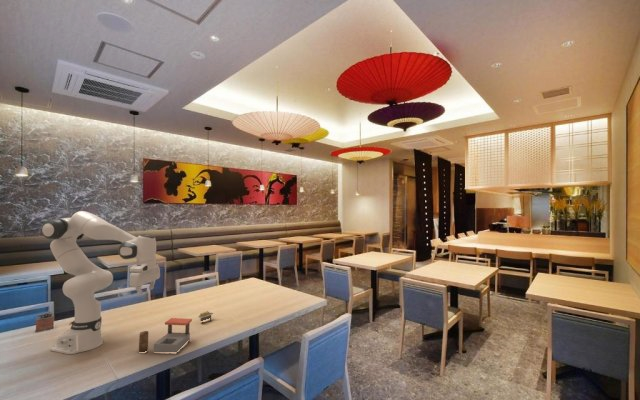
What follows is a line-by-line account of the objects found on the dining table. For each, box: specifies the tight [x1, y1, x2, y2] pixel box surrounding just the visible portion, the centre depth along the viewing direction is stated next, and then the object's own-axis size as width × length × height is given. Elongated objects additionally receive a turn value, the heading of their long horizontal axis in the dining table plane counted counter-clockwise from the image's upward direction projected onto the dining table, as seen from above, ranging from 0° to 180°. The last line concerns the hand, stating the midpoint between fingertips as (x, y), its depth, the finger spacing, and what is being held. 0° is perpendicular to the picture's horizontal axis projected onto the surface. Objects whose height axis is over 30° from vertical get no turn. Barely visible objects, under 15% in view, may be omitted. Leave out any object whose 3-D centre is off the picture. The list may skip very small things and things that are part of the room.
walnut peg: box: [138, 330, 149, 353], centre depth 149 cm, size 4×4×10 cm
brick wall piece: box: [35, 312, 55, 333], centre depth 173 cm, size 8×3×10 cm, turn 135°
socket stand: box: [152, 317, 193, 352], centre depth 156 cm, size 12×16×12 cm
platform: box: [198, 310, 214, 321], centre depth 191 cm, size 12×18×7 cm, turn 146°
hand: (145, 291), depth 152 cm, fingers open, 8 cm apart
